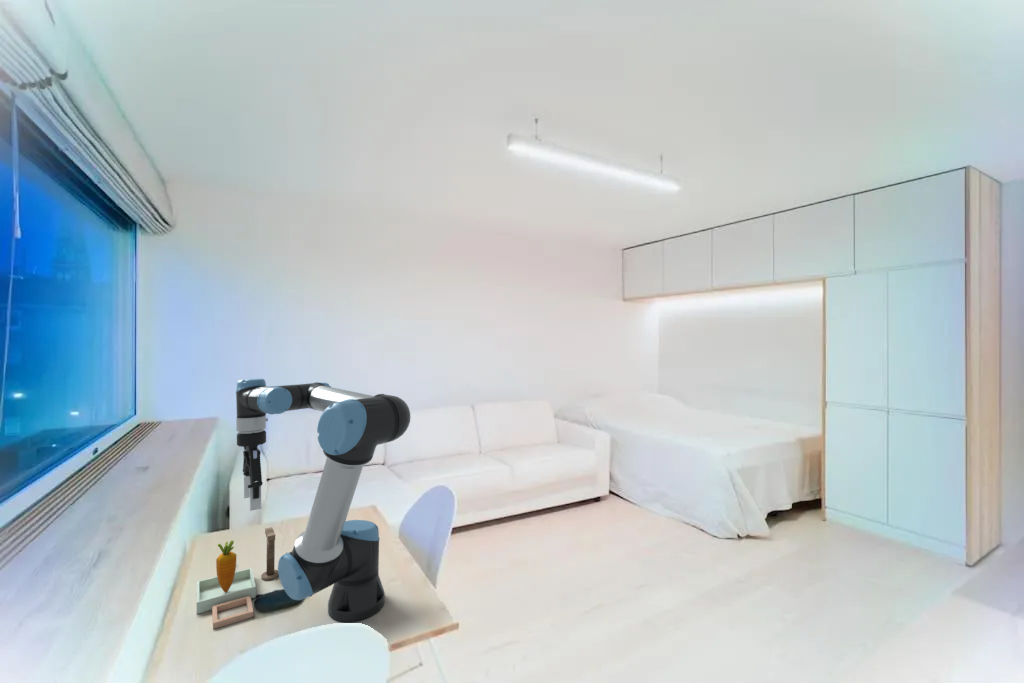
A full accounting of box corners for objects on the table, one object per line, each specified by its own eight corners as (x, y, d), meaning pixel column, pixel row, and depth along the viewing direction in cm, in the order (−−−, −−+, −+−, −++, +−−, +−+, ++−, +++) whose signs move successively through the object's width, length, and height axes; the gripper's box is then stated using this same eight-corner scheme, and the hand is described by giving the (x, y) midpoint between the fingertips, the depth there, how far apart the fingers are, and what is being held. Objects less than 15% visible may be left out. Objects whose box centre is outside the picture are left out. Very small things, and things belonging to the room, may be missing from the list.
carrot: (211, 596, 128) (212, 544, 128) (225, 586, 133) (226, 536, 133) (226, 598, 127) (227, 545, 127) (240, 588, 132) (240, 538, 132)
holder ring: (253, 616, 120) (253, 611, 120) (213, 628, 115) (213, 623, 115) (250, 600, 127) (250, 595, 127) (212, 611, 122) (212, 605, 122)
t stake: (280, 577, 140) (280, 534, 140) (262, 582, 137) (262, 538, 137) (277, 567, 146) (277, 526, 146) (259, 571, 143) (260, 529, 143)
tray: (255, 597, 129) (255, 586, 129) (196, 614, 121) (196, 602, 121) (251, 577, 140) (251, 567, 140) (196, 591, 132) (196, 581, 132)
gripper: (273, 435, 124) (274, 511, 124) (259, 424, 144) (260, 490, 143) (242, 439, 119) (242, 518, 119) (232, 427, 139) (232, 495, 139)
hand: (252, 503), depth 131 cm, fingers open, 13 cm apart
